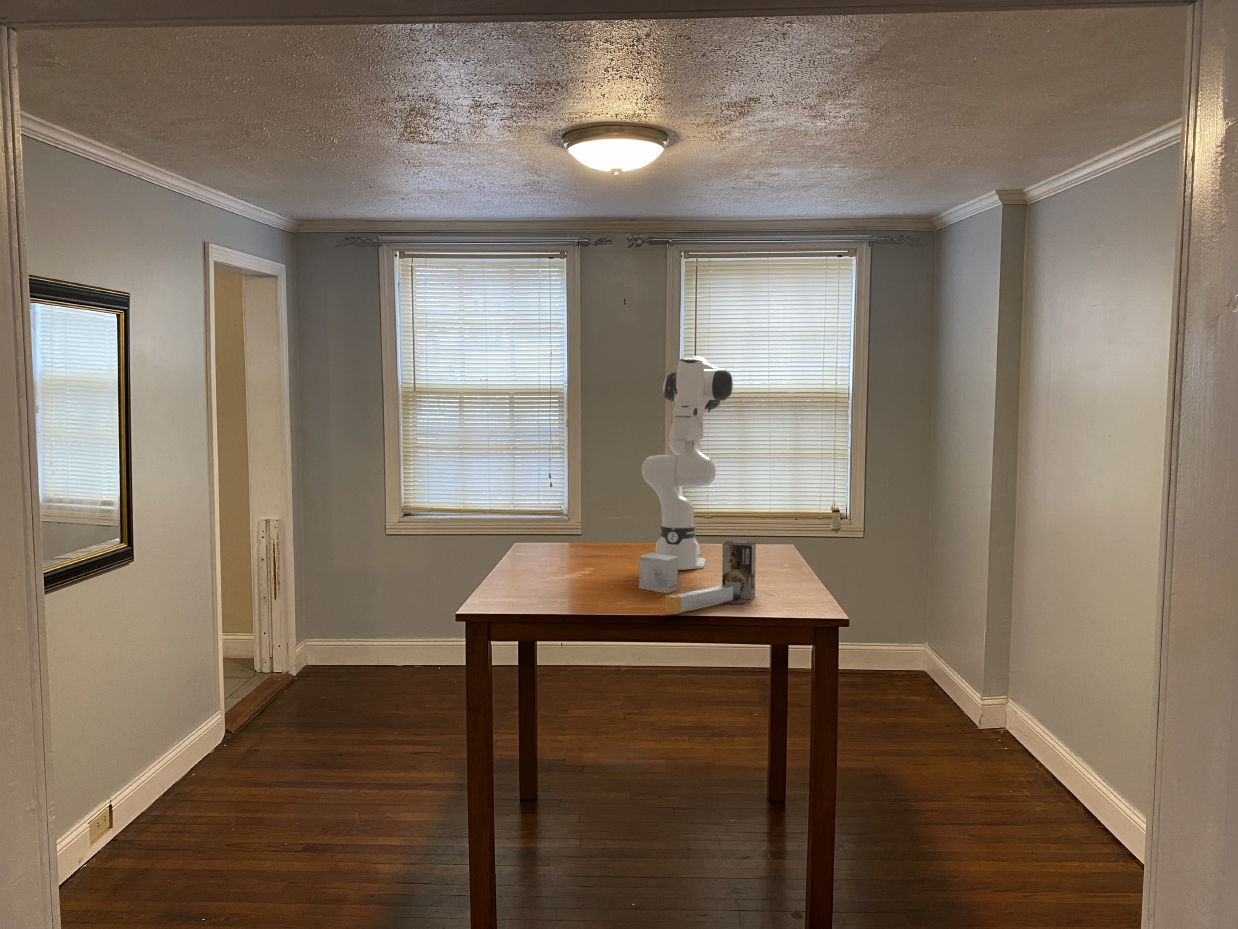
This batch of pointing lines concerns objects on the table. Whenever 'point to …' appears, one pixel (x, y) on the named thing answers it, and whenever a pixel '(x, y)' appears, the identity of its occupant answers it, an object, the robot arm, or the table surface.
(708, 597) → the grey long bar
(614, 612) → the table surface
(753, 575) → the coffee box
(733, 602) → the hinge base
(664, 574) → the skincare box
